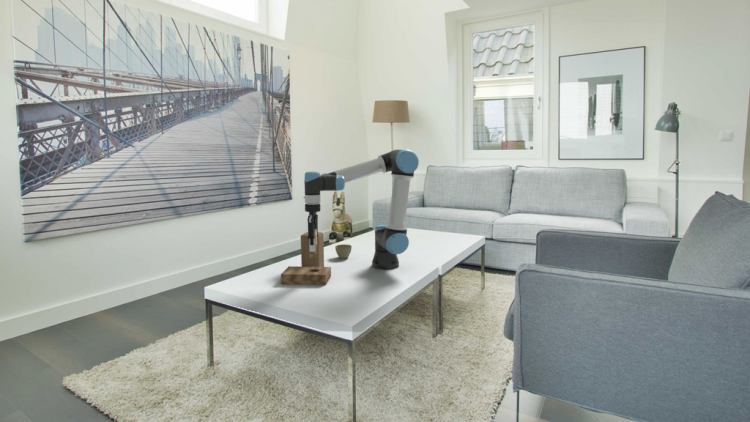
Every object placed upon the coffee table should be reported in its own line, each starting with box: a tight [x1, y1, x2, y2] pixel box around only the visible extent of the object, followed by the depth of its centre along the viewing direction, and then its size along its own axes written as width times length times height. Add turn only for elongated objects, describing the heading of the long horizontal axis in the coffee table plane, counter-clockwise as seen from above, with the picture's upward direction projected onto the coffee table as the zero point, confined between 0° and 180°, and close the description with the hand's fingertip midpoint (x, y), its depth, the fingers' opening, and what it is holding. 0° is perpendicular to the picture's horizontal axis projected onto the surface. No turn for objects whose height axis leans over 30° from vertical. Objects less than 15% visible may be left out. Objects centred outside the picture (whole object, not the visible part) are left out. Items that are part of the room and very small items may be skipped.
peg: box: [310, 229, 317, 258], centre depth 213 cm, size 4×4×14 cm
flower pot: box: [334, 243, 353, 260], centre depth 259 cm, size 10×10×7 cm
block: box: [300, 231, 325, 267], centre depth 233 cm, size 10×10×20 cm
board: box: [280, 265, 332, 286], centre depth 216 cm, size 22×14×5 cm, turn 86°
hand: (313, 250), depth 213 cm, fingers closed on peg, 4 cm apart
